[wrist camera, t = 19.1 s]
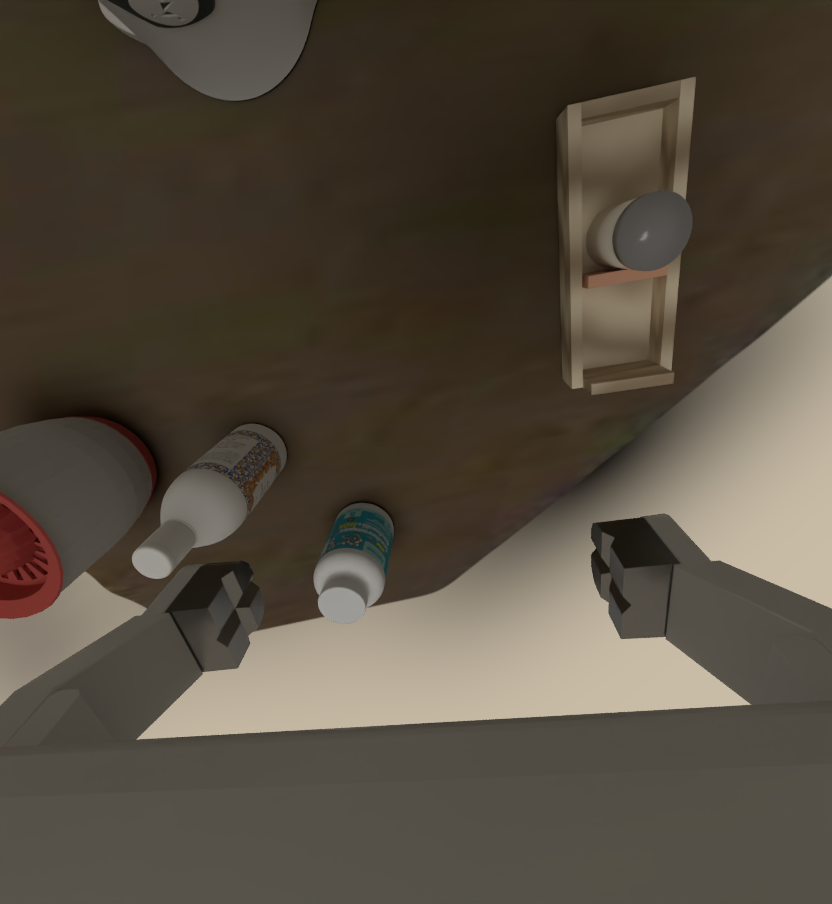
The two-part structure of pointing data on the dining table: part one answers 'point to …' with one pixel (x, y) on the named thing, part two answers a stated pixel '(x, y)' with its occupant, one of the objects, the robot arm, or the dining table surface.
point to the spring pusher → (618, 276)
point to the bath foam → (212, 497)
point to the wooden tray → (588, 193)
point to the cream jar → (641, 232)
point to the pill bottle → (354, 562)
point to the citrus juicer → (64, 503)
